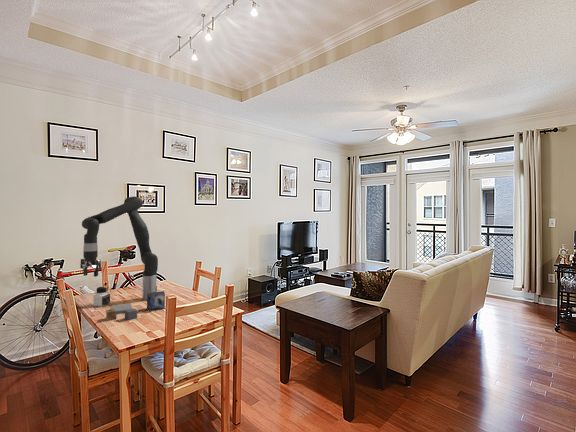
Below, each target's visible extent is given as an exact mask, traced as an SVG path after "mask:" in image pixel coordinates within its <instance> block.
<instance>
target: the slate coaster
mask: <svg viewBox="0 0 576 432" xmlns="http://www.w3.org/2000/svg"><path fill="white" fill-rule="evenodd" d="M132 307H133V306H132V304H131V303H127V304H126V303H125V304H120V305H113V306H112V305H111V306H109V310H111V309H116V315H120V314H121V315H122V314H125V310H129V309H133V308H132Z"/></svg>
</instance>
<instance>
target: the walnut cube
mask: <svg viewBox="0 0 576 432" xmlns="http://www.w3.org/2000/svg"><path fill="white" fill-rule="evenodd" d="M105 316H106V318H105V319H106V322H107V321H109V322H110V321H114V320H117V314H116V309H111V310H110V309H106V315H105Z"/></svg>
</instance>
